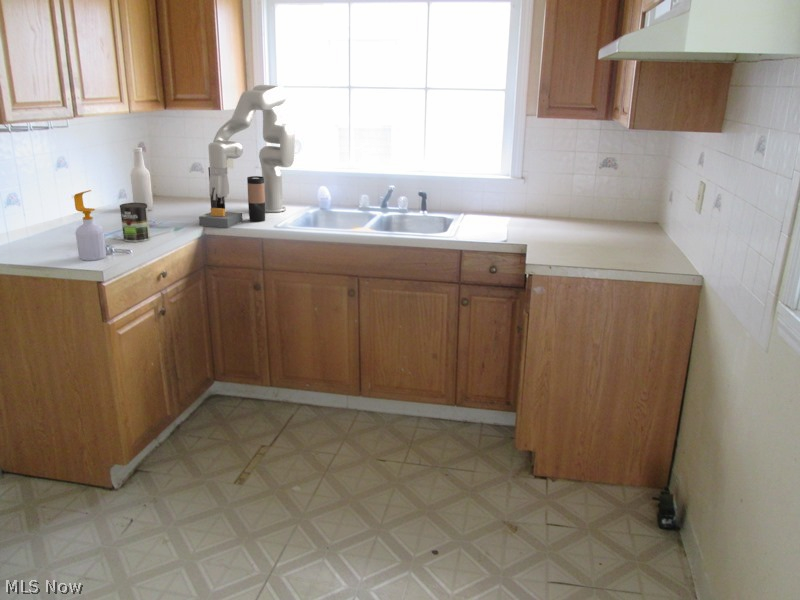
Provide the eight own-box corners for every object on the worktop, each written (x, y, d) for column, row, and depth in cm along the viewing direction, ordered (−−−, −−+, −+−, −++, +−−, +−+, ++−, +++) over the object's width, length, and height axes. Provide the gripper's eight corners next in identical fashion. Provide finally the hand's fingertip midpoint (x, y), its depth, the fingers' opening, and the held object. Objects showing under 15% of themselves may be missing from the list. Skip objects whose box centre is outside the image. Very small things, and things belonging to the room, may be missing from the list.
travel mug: (267, 219, 304) (266, 176, 298) (262, 222, 297) (261, 178, 290) (252, 218, 305) (250, 175, 298) (246, 221, 298) (244, 178, 291)
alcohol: (147, 212, 310) (141, 149, 301) (130, 211, 312) (123, 148, 302) (157, 208, 319) (150, 147, 309) (140, 207, 320) (133, 146, 310)
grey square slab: (215, 219, 300) (214, 210, 299) (242, 221, 297) (242, 212, 296) (199, 225, 288) (198, 216, 286) (227, 227, 285) (227, 218, 283)
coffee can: (142, 243, 256) (138, 208, 251) (118, 241, 257) (114, 206, 252) (155, 237, 266) (152, 203, 261) (132, 235, 267) (128, 201, 262)
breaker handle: (213, 214, 290) (212, 207, 289) (225, 215, 289) (224, 208, 288) (211, 215, 289) (210, 208, 288) (223, 216, 287) (222, 209, 286)
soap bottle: (96, 261, 229) (87, 193, 221) (73, 259, 231) (63, 191, 223) (111, 255, 238) (103, 189, 230) (89, 253, 239) (80, 187, 231)
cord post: (211, 214, 310) (208, 165, 302) (226, 215, 308) (223, 166, 301) (203, 217, 303) (199, 167, 295) (218, 219, 301) (215, 169, 293)
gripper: (219, 168, 293) (221, 208, 299) (202, 172, 279) (205, 214, 285) (234, 169, 291) (236, 209, 297) (217, 173, 278) (220, 215, 284)
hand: (221, 211), depth 291 cm, fingers closed
